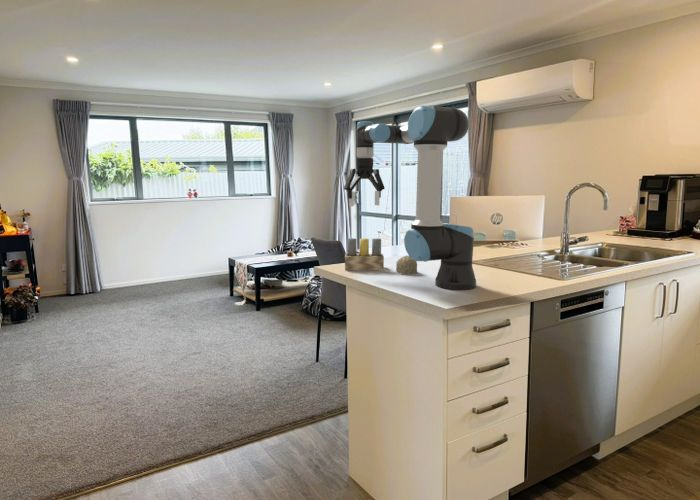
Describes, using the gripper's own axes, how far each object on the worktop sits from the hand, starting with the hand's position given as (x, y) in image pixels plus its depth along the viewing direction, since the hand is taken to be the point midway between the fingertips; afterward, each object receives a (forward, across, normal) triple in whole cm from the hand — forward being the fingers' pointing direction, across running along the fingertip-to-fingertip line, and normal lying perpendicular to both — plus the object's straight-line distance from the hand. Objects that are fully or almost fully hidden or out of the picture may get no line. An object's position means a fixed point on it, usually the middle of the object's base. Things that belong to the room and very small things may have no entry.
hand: (364, 205), depth 211 cm
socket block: (+28, +3, +4) cm, 28 cm away
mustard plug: (+23, +3, +4) cm, 24 cm away
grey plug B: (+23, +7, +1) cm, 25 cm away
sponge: (+28, -9, +21) cm, 36 cm away
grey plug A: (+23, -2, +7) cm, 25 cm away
